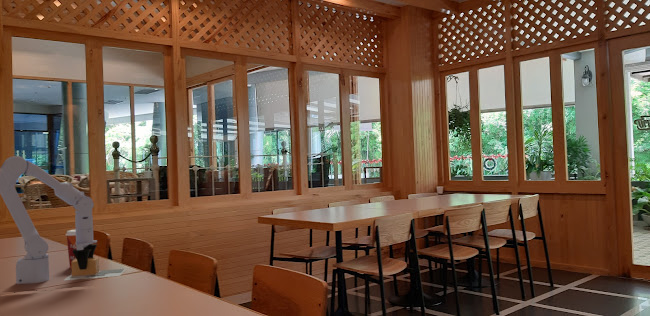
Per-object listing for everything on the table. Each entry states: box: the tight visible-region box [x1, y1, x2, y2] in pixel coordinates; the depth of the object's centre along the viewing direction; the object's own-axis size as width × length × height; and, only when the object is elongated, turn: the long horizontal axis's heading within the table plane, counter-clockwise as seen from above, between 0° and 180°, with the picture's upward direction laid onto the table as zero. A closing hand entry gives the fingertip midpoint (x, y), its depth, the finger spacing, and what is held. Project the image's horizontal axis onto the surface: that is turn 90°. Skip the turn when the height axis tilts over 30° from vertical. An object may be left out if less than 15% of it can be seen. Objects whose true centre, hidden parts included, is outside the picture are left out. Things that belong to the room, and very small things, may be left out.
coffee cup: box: [65, 229, 77, 269], centre depth 196 cm, size 8×8×15 cm
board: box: [63, 268, 126, 281], centre depth 181 cm, size 18×12×1 cm, turn 102°
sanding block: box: [71, 257, 100, 276], centre depth 183 cm, size 8×5×5 cm, turn 102°
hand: (85, 267), depth 183 cm, fingers open, 7 cm apart
